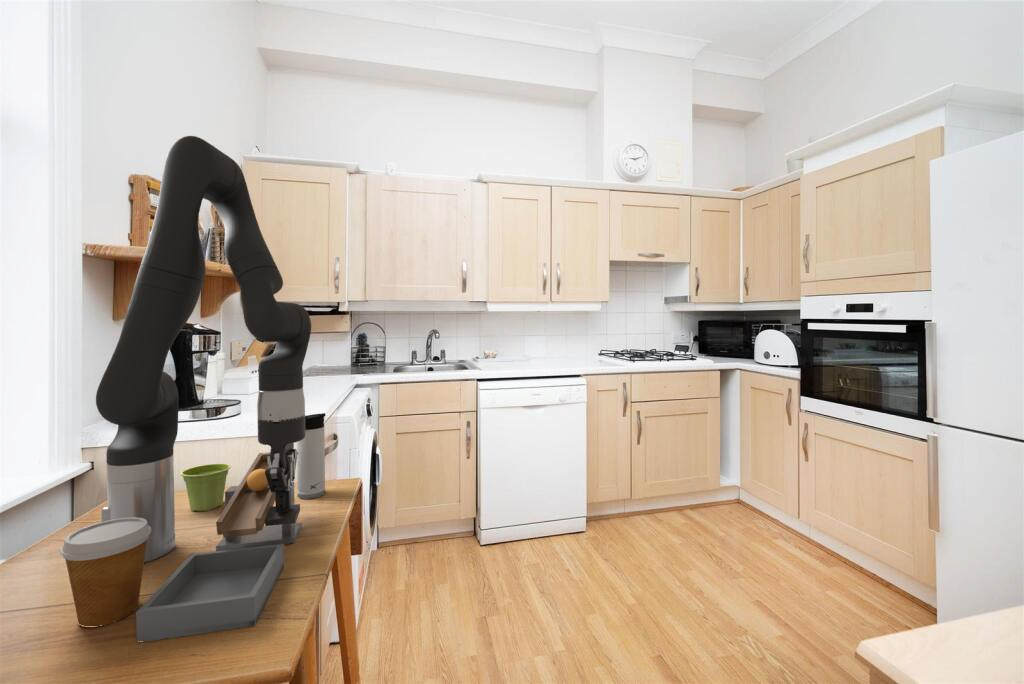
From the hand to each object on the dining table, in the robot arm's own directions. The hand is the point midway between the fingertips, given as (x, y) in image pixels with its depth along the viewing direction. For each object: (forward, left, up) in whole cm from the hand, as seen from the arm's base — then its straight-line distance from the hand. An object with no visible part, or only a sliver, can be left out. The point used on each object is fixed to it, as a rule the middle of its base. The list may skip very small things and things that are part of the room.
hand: (283, 510), depth 79 cm
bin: (-6, -12, -8) cm, 16 cm away
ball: (-6, +7, +4) cm, 10 cm away
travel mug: (-1, +31, -8) cm, 32 cm away
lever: (-3, +8, -2) cm, 9 cm away
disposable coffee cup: (-20, -12, -8) cm, 25 cm away
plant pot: (-23, +29, -8) cm, 38 cm away
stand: (-6, +8, -8) cm, 13 cm away
